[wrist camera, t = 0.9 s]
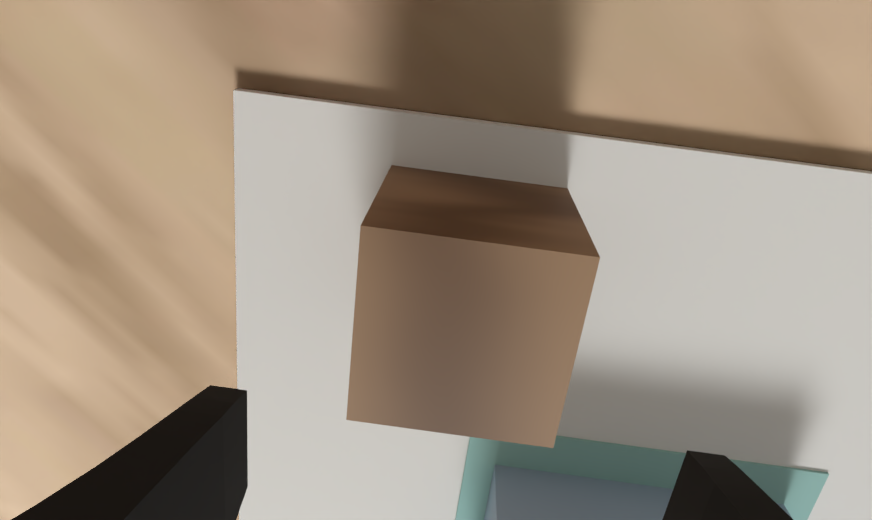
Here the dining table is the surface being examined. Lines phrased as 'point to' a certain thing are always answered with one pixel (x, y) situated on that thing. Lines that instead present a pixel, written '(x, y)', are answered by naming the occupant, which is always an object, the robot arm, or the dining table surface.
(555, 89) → the dining table surface
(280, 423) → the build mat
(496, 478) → the base block
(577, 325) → the walnut cube
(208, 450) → the robot arm
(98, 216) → the dining table surface
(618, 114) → the dining table surface
